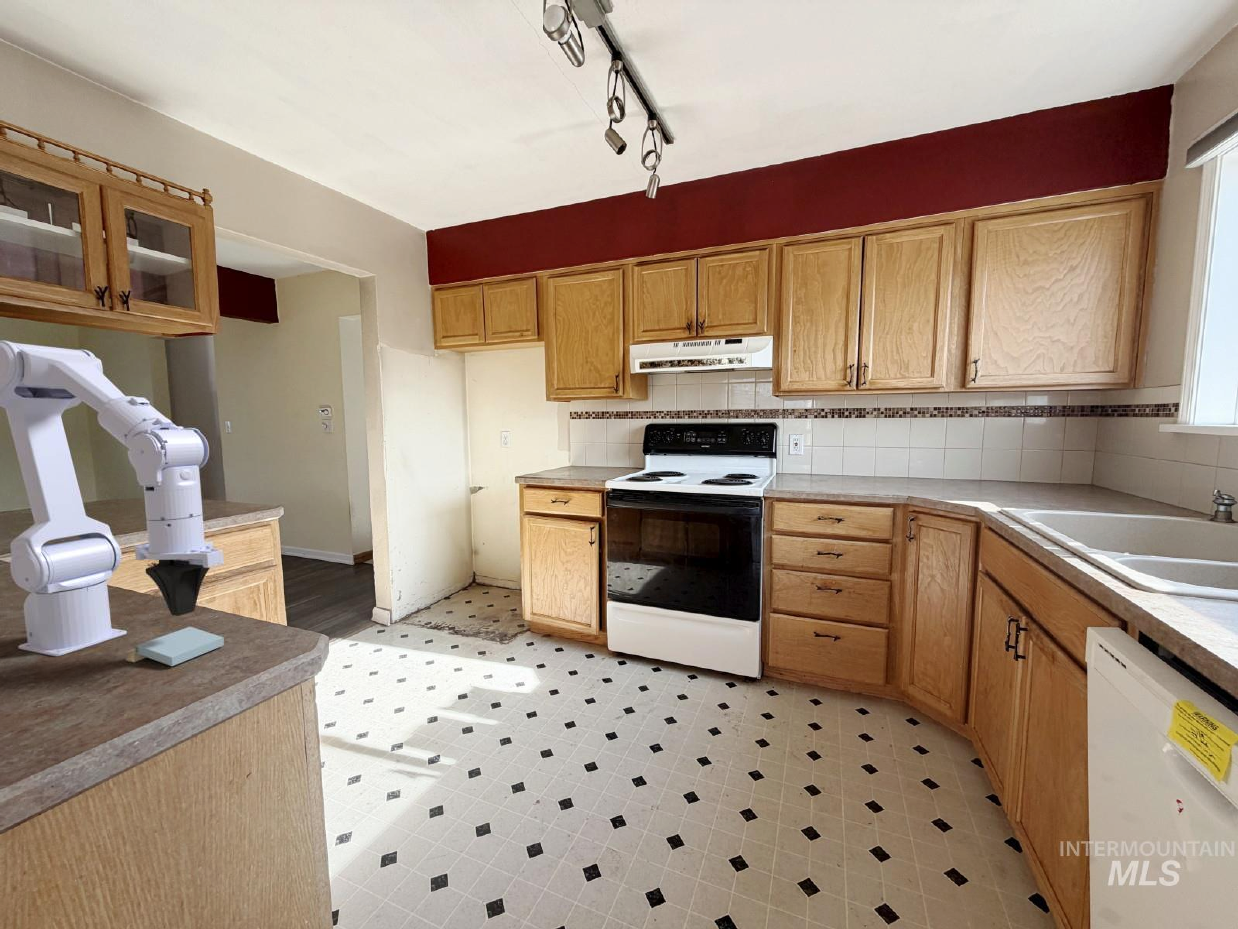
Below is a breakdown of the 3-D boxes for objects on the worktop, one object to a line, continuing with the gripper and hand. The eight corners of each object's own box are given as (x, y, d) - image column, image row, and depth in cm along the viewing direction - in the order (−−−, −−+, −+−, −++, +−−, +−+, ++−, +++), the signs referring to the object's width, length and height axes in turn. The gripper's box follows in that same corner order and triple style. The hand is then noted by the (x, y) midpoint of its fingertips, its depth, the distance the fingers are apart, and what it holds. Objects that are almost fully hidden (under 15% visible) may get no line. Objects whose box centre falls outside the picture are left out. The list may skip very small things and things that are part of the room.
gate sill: (125, 660, 67) (125, 652, 67) (184, 639, 74) (183, 631, 74) (134, 662, 66) (133, 653, 66) (192, 640, 73) (191, 632, 73)
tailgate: (134, 644, 67) (172, 657, 64) (188, 626, 73) (223, 637, 71) (135, 652, 67) (172, 666, 65) (188, 633, 73) (223, 645, 71)
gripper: (243, 514, 68) (250, 608, 70) (173, 509, 73) (180, 598, 74) (186, 523, 62) (194, 627, 63) (112, 518, 66) (121, 615, 67)
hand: (183, 613), depth 68 cm, fingers closed
